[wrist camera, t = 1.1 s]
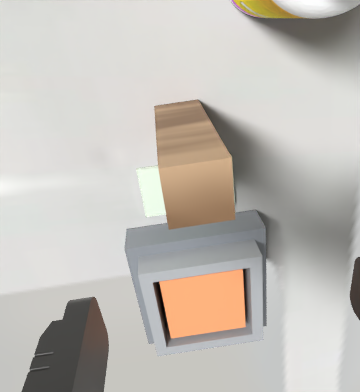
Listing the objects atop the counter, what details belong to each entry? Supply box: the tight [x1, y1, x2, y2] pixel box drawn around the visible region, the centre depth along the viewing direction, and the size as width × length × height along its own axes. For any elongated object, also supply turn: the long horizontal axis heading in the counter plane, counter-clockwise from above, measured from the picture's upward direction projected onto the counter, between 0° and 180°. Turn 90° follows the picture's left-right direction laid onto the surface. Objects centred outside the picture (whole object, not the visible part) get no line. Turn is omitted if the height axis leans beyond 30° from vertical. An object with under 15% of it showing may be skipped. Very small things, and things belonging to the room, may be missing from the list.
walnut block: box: [154, 100, 235, 230], centre depth 22 cm, size 3×3×12 cm
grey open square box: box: [125, 210, 266, 356], centre depth 32 cm, size 12×12×5 cm
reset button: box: [159, 269, 246, 338], centre depth 31 cm, size 7×7×3 cm
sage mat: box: [136, 155, 235, 217], centre depth 29 cm, size 5×8×1 cm, turn 97°
